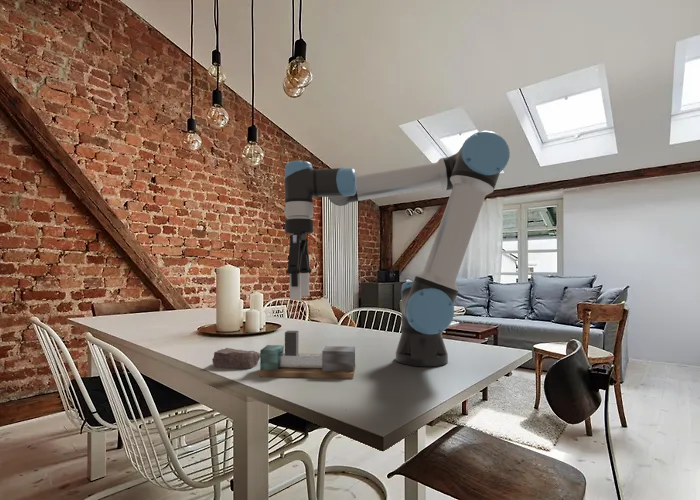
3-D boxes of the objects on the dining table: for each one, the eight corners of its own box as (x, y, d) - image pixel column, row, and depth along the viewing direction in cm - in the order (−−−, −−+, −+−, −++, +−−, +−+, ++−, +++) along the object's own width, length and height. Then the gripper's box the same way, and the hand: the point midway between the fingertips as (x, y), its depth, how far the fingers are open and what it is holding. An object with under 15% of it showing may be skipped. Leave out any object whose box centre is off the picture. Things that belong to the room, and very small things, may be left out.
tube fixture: (355, 368, 107) (355, 345, 107) (353, 378, 97) (353, 353, 97) (269, 366, 108) (269, 343, 109) (258, 376, 98) (258, 351, 99)
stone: (251, 370, 105) (251, 352, 105) (209, 369, 107) (209, 352, 107) (263, 362, 114) (263, 346, 114) (225, 361, 116) (225, 345, 116)
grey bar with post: (329, 365, 104) (330, 331, 104) (328, 368, 101) (328, 333, 101) (270, 364, 105) (271, 330, 105) (267, 367, 102) (267, 332, 102)
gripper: (294, 224, 119) (295, 294, 118) (274, 213, 94) (275, 302, 93) (318, 223, 118) (320, 294, 117) (305, 212, 93) (306, 301, 92)
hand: (300, 297), depth 105 cm, fingers open, 13 cm apart
